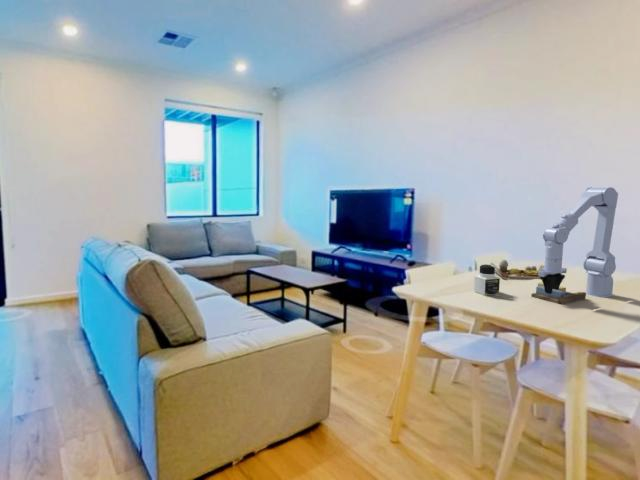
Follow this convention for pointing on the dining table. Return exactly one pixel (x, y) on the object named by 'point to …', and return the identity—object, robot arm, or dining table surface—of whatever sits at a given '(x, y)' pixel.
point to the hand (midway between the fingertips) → (551, 292)
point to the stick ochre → (558, 289)
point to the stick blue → (554, 293)
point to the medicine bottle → (486, 281)
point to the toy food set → (517, 272)
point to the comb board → (564, 299)
